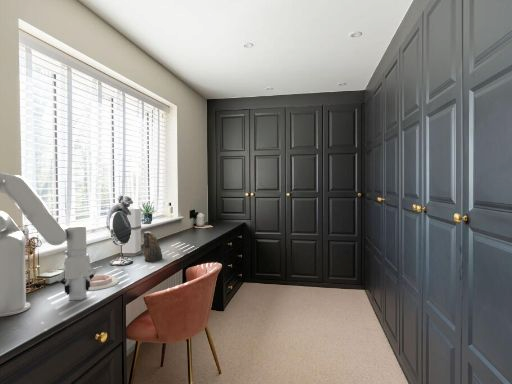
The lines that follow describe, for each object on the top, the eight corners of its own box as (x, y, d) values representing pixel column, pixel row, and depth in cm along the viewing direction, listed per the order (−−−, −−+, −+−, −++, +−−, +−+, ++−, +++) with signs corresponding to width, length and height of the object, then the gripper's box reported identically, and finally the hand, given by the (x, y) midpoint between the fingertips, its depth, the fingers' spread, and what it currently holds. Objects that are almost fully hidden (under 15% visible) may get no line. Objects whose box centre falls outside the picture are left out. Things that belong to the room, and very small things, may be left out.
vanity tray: (81, 293, 142) (81, 287, 142) (71, 284, 157) (71, 278, 157) (124, 284, 156) (124, 278, 156) (111, 276, 171) (111, 270, 171)
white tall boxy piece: (141, 252, 232) (141, 207, 232) (135, 256, 221) (135, 208, 221) (127, 252, 232) (126, 207, 232) (120, 256, 222) (119, 208, 221)
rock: (149, 263, 200) (149, 233, 200) (136, 261, 206) (136, 232, 206) (163, 259, 212) (163, 230, 211) (150, 257, 217) (150, 229, 217)
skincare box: (86, 296, 139) (86, 270, 138) (82, 300, 134) (82, 273, 134) (72, 297, 138) (72, 270, 138) (67, 300, 134) (67, 273, 133)
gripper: (55, 257, 127) (56, 298, 127) (100, 251, 139) (100, 289, 139) (52, 254, 133) (53, 294, 133) (95, 248, 145) (95, 285, 145)
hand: (77, 291), depth 136 cm, fingers closed on skincare box, 7 cm apart
